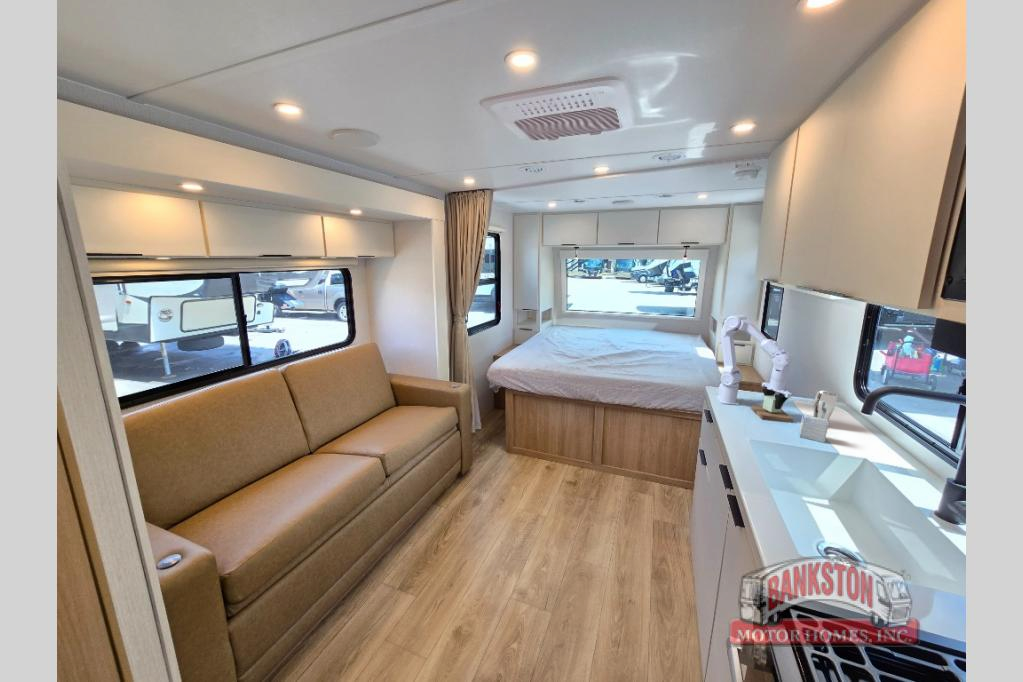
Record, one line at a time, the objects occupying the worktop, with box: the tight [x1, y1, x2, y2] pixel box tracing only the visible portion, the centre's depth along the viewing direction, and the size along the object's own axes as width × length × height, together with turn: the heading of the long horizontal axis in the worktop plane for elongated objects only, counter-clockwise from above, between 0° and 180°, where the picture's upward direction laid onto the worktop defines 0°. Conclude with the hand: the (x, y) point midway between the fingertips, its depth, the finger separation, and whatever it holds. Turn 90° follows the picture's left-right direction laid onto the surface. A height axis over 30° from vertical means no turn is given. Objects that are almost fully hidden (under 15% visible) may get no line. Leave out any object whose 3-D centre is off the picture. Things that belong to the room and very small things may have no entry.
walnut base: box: [750, 404, 794, 424], centre depth 165 cm, size 12×12×2 cm
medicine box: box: [798, 414, 830, 444], centre depth 144 cm, size 8×4×9 cm, turn 56°
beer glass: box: [813, 389, 838, 424], centre depth 155 cm, size 7×7×15 cm
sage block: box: [762, 395, 783, 412], centre depth 164 cm, size 5×5×6 cm
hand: (772, 406), depth 164 cm, fingers closed on sage block, 5 cm apart
